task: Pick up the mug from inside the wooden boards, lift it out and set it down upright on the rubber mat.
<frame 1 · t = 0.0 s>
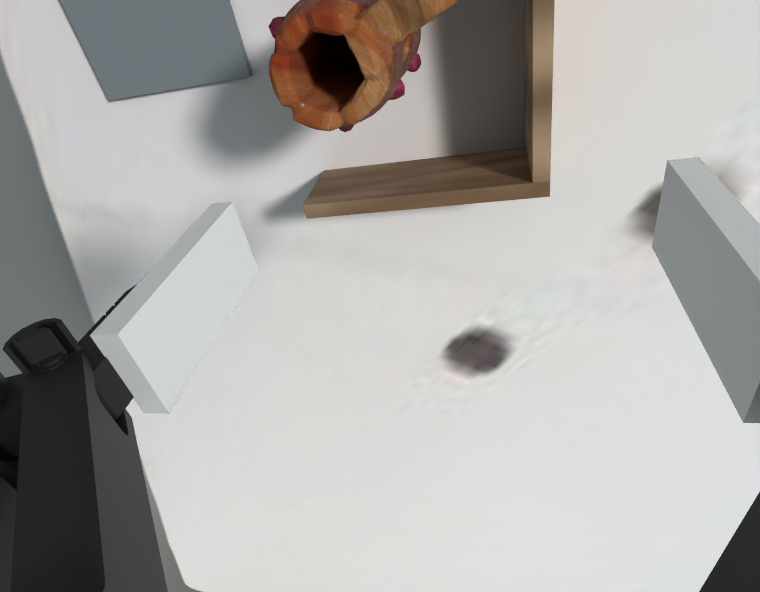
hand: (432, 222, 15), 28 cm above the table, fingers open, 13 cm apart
wooden boards: (398, 5, 36), on the table
mug: (398, 4, 36), on the table
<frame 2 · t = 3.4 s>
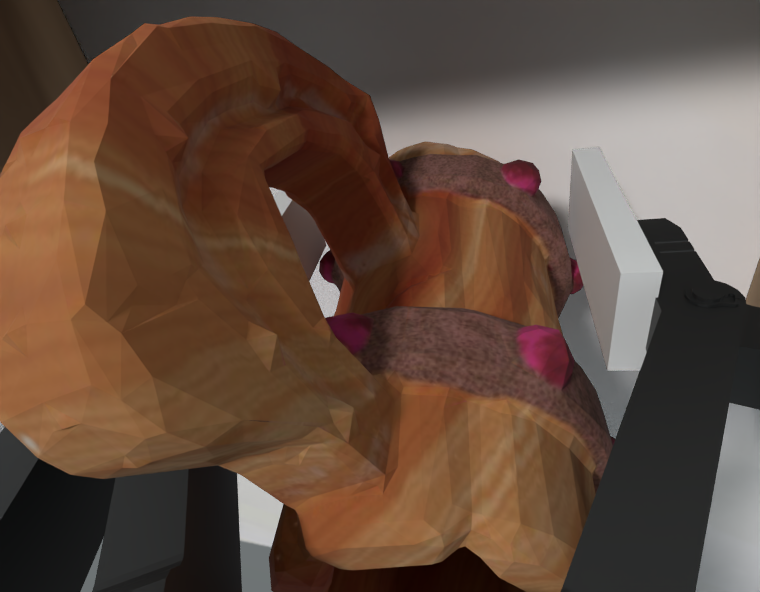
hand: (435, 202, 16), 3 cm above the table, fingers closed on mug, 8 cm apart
wooden boards: (431, 172, 18), on the table
mug: (421, 171, 19), on the table, touching gripper
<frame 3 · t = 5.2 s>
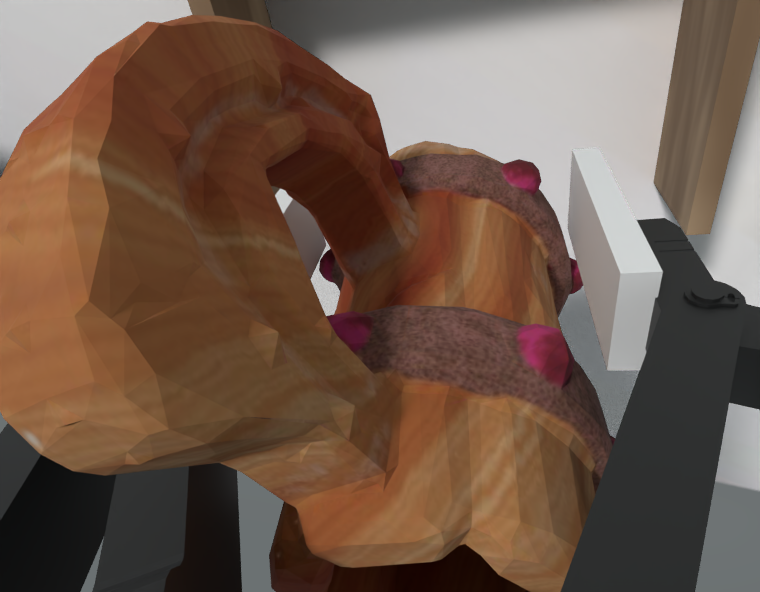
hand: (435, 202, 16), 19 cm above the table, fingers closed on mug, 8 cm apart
wooden boards: (465, 67, 31), on the table
mug: (421, 170, 19), point 16 cm above the table, touching gripper
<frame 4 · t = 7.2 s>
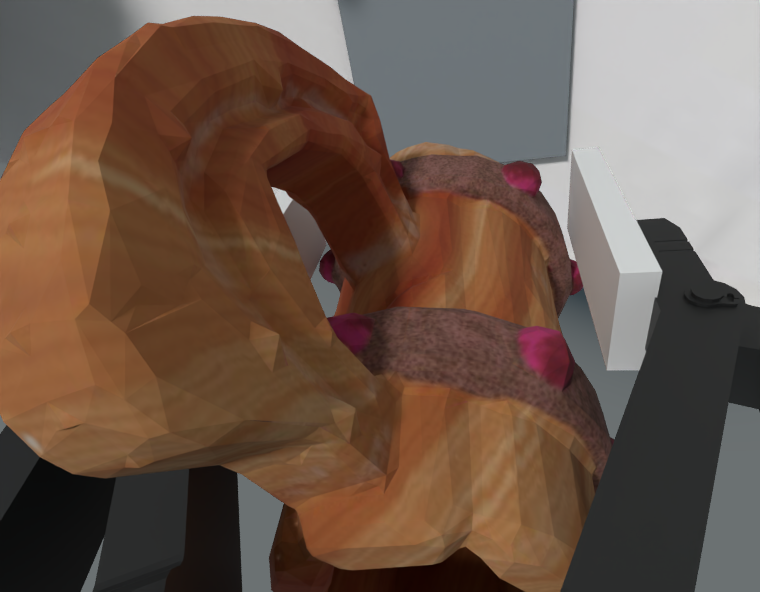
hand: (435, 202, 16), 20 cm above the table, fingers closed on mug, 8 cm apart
mug: (421, 171, 19), point 17 cm above the table, touching gripper
rubber mat: (457, 61, 32), on the table
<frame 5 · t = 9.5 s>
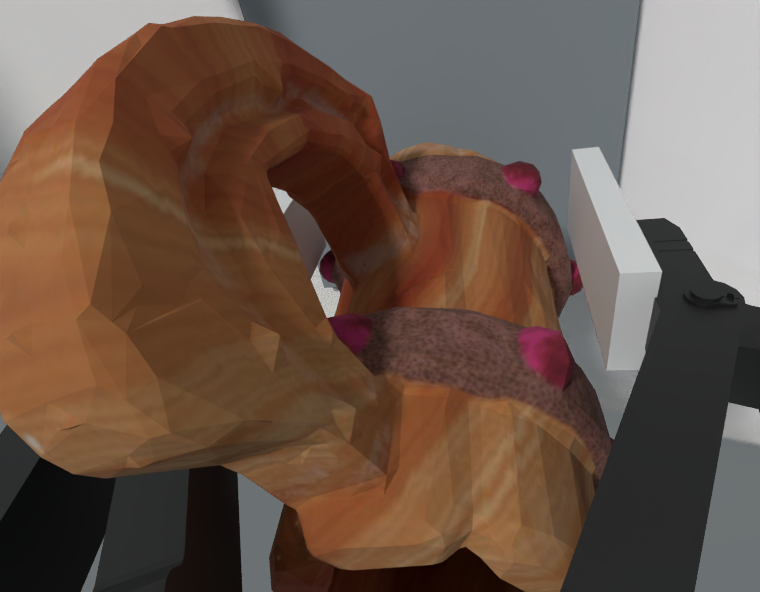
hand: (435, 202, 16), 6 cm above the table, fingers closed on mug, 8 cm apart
mug: (421, 171, 19), point 3 cm above the table, touching gripper
rubber mat: (443, 140, 21), on the table
when the fingers open (4 cm above the table, at t = 10.8 s): mug drops 1 cm, resting on rubber mat.
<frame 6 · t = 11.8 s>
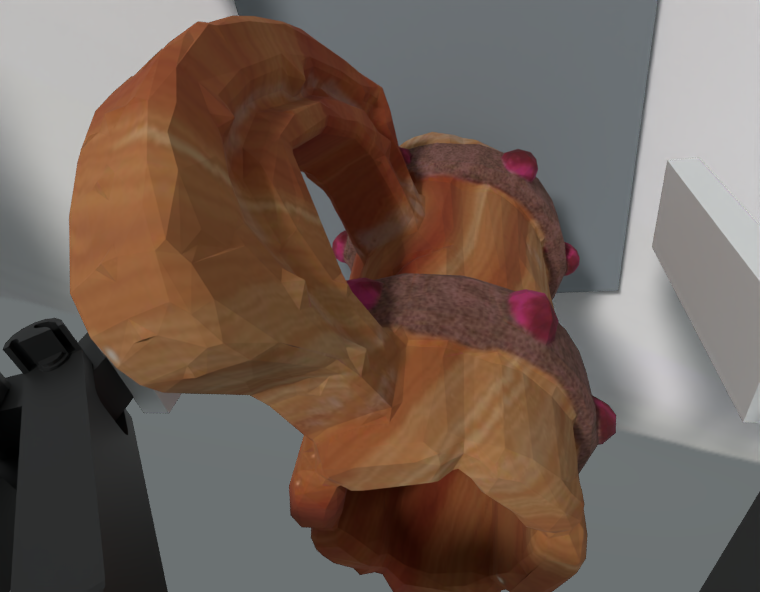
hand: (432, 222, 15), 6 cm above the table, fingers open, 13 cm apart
mug: (428, 160, 20), resting on rubber mat
rubber mat: (448, 152, 20), on the table
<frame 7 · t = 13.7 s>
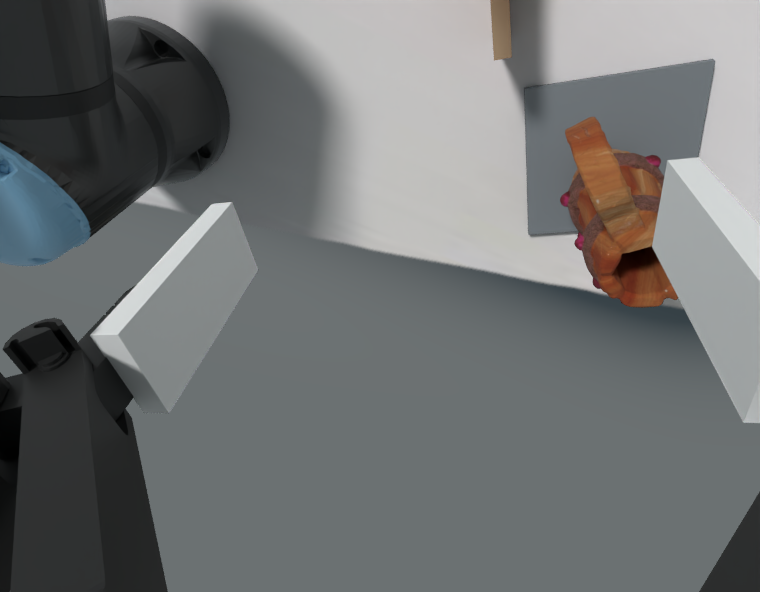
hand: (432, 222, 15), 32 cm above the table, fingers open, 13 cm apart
mug: (598, 160, 44), resting on rubber mat
rubber mat: (608, 157, 44), on the table
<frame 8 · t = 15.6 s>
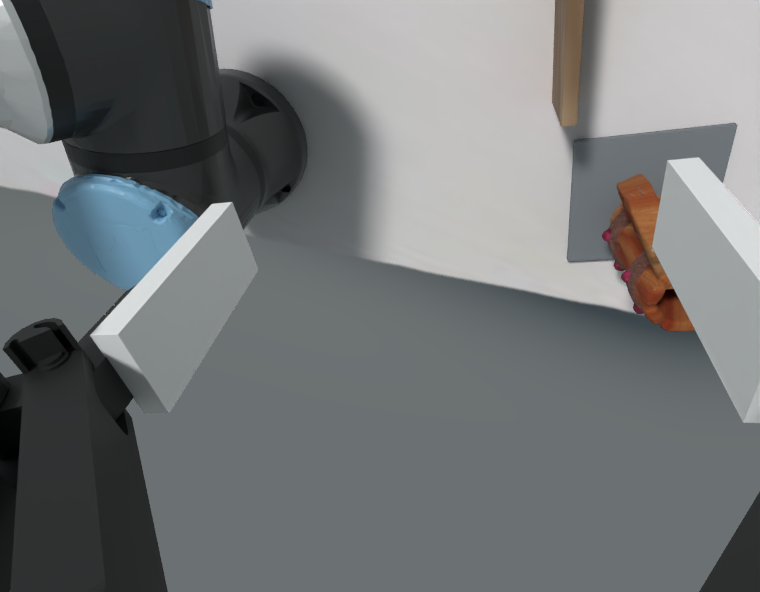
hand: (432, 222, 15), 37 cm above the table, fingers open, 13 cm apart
mug: (633, 201, 51), resting on rubber mat
rubber mat: (641, 198, 51), on the table
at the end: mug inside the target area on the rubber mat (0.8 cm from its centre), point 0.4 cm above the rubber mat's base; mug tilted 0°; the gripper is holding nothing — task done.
